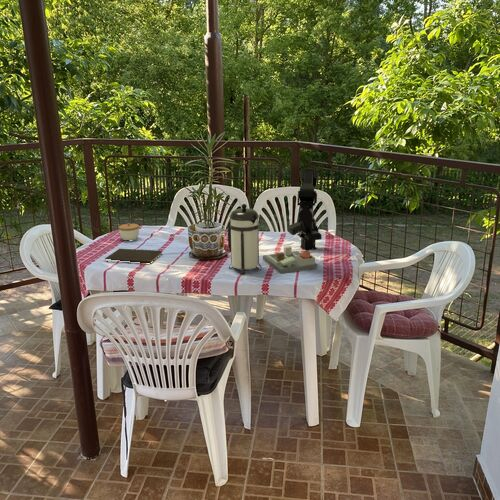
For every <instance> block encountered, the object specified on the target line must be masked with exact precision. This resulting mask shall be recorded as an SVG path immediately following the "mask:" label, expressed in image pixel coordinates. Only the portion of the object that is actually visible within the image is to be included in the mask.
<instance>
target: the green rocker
mask: <svg viewBox="0 0 500 500" xmlns="http://www.w3.org/2000/svg"><path fill="white" fill-rule="evenodd" d="M294 261H295V258H293V257H292V256H291V257H289V258H286V259H284V260H282V261H280V263H281V264H282V265H283V266H284V265H286V264H289V263H291V262H294Z"/></svg>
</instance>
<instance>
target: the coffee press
mask: <svg viewBox="0 0 500 500" xmlns="http://www.w3.org/2000/svg"><path fill="white" fill-rule="evenodd" d="M259 218H260V215H259V213H258V212H257V210H255V209H253V208H247V204H245V203H242V204H241V207H240V208H236V209H234V210H233V211H231V213H230V214H229V219H230V220H229V222H228V224H227V246H228V250H229V251H230V252H229V253H230V259H231V260H230V264H229V266H228V269H229V270H232V269H233V268H235V269H237V270H240V274H241V275H245V271H247V270H253V269H255V268H256V269H257V270H258V271H261V270H262V269H263V268H262V265H261V264H260V240H259V239H260V236H259V235H260V234H259V233H260V232H259V226H260V224H259ZM231 265H232V267H231ZM258 266H259V267H258Z"/></svg>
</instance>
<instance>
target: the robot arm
mask: <svg viewBox="0 0 500 500" xmlns="http://www.w3.org/2000/svg"><path fill="white" fill-rule="evenodd" d="M299 178H300V181H301V185H300V186H299V190H298V191H297V206H299V208H300V209H299V212H298V218H297V221H296V222H293V223H291V224H289V225H288V226H286V227H287V231H288V233H289V234H290V235H291V236H295V235H296V234H297V237H299V238H300V248H302V249H303V251H310V250H316V249H318V248H317V246H316V241H318V240H322V235H323V234H321V233H320V232H319V227H318V225H317V220H316V219H315V217H314V207H315V206H316V204H317V203H318V202H317V201H318V193H317V190H315V188H316V187H317V183H318V181H319V171H317V170H316V169H315V168H308V167H307V168H303V169H302V170H301V171H300V177H299Z"/></svg>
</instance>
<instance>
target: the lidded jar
mask: <svg viewBox="0 0 500 500" xmlns="http://www.w3.org/2000/svg"><path fill="white" fill-rule="evenodd" d="M118 231H119V236H120V238H121V239H122V240H123V241H124V240H134V241H136V240H135V239H137V238H138V237H139V235H140V234H139V233H140V225H139V224H137V223H130V222H127V223H125V224H120V225H119V226H118Z"/></svg>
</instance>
